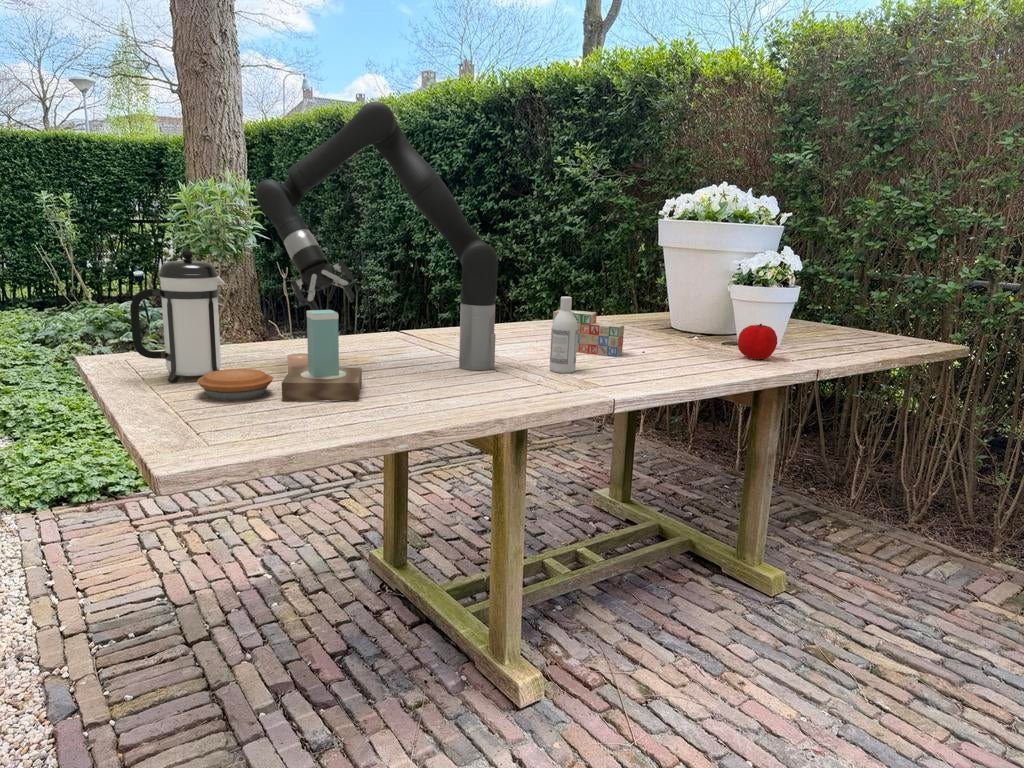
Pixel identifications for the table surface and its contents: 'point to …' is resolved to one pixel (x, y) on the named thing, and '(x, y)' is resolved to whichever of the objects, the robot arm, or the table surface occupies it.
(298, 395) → the tissue box
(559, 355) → the bath foam
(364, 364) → the table surface
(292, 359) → the beige block
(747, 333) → the tomato
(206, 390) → the pie
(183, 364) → the coffee press
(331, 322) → the carton
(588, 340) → the stack of blocks
